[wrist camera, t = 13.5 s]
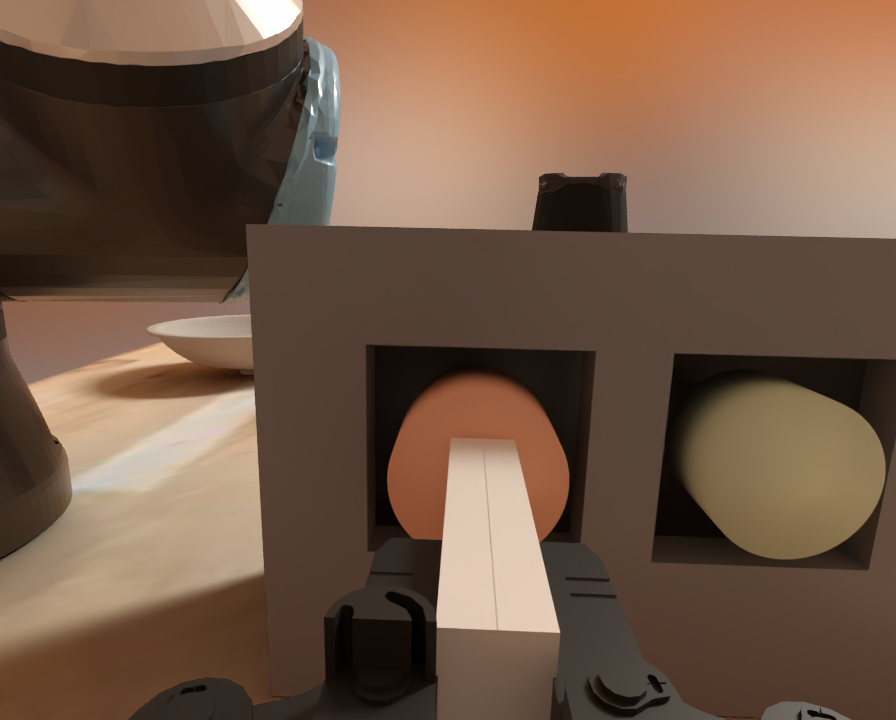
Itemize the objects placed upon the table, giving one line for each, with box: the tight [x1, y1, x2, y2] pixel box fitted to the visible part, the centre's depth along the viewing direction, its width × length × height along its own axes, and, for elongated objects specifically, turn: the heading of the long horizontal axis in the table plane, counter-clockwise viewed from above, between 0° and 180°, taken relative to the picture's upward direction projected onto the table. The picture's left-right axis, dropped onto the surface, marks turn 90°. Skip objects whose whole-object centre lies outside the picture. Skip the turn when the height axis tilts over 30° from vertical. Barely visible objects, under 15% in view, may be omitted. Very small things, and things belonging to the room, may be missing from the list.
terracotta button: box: [387, 367, 569, 542], centre depth 16 cm, size 4×6×4 cm
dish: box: [147, 315, 254, 375], centre depth 56 cm, size 18×14×5 cm
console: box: [246, 224, 896, 720], centre depth 19 cm, size 28×8×14 cm, turn 88°
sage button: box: [665, 369, 886, 559], centre depth 17 cm, size 4×6×4 cm
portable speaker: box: [532, 173, 628, 233], centre depth 53 cm, size 9×9×20 cm
